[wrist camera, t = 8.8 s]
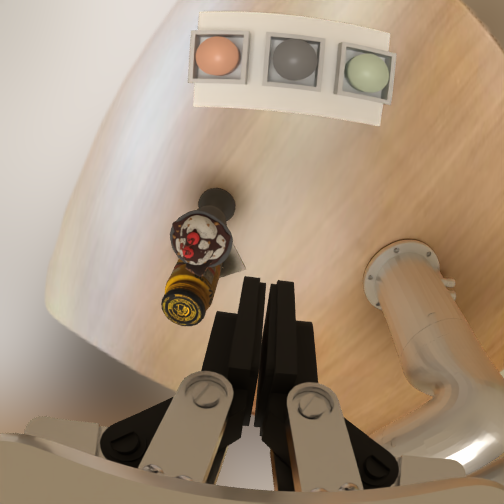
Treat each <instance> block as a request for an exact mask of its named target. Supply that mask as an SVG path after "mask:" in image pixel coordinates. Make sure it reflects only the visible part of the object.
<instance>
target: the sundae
mask: <svg viewBox="0 0 504 504" xmlns="http://www.w3.org/2000/svg"><path fill="white" fill-rule="evenodd" d="M198 206H199V209H198V210H194V211H190V212H188V213H186V214H184V215H182V216H181V217H179V218H178V219H177V221H175V222H173V225H172V228H171V232H170V240H171V244H172V248H173V250H174V252H175V253H176V255H177V256H178V258H179V259H181V260H182V261H183V262H184V263H186V269H187V270H188V271H190V272H192V273H194V274H196V275H198V276H200V277H202V276H203V275H204V273H205V272H206V270H207V269H208V267H214V266H217V265H220V264H221V263H222V262H224V261H225V260H226V259H227V257H228V256H229V254H230V252H231V249H232V244H233V239H232V235H231V232H230V231H229V229H228V228H227V224H226V221H228V220H229V219H230V218H231V217H232V216H233V215H234V212H235V201H234V199H233V197H232V196H231V195H230V194H229V193H228V192H227V191H225V190H223V189H219V188H213V189H209V190H207V191H205V192H204V193H203V194H202V195H201V197H200V199H199V203H198Z"/></svg>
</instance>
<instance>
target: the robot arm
mask: <svg viewBox="0 0 504 504" xmlns="http://www.w3.org/2000/svg"><path fill="white" fill-rule="evenodd" d="M454 286H455V279H453V278H443V276H442V275H441V273H440V265H439V261H438V258H437V256H436V254H435V253H434V251H433V250H432V249H431V248H430V247H429V246H428V245H426V244H425V243H423V242H420V241H417V240H401V241H397V242H394V243H392V244H390V245H388V246H386V247H385V248H383V249H382V250H380V251H379V252H378V253H377V254H376V255H375V256H374V257H373V258H372V260H371V261H370V262H369V264H368V266H367V268H366V270H365V273H364V278H363V288H364V292H365V295H366V297H367V299H368V301H369V302H370V303H371V304H372V305H373V306H374V307H376V308H377V309H380V310H382V311H383V313H384V316H385V319H386V322H387V324H388V327H389V330H390V333H391V336H392V339H393V342H394V344H395V347H396V350H397V353H398V356H399V359H400V362H401V366H402V369H403V372H404V374H405V376H406V378H407V380H408V381H409V383H410V384H411V385H412V386H413V387H415V388H416V389H418V390H419V391H421V392H423V393H425V394H428V395H430V396H433V398H432V399H431V400H429V401H428V402H426V403H425V404H423V405H422V406H421V407H419V408H417V409H416V410H414V411H412V412H410V413H409V414H407V415H405V416H403V417H401V418H399V419H398V420H396V421H394V422H392V423H390V424H388V425H387V426H385V427H383V428H381V429H379V430H377V431H376V432H374V433H372V434H371V435H370V436H367V435H366V434H365V433H363V432H362V431H361V430H360V429H358V428H357V427H356V426H354V425H353V424H352V423H350V422H349V421H348V420H347V419H345V418H344V417H343V414H342V410H341V407H340V404H339V400H338V398H337V396H336V394H335V393H334V392H333V391H332V390H331V389H330V388H328V387H326V386H325V385H322V384H319V383H318V376H317V364H316V353H315V342H314V332H313V324H312V322H305V321H296V316H295V294H294V282H289V281H280V280H278V281H277V284H271V286H270V293H269V299H268V305H267V312H266V318H265V324H264V330H263V336H262V329H263V317H264V304H265V291H266V283H261V282H260V278H255V277H247V276H244V281H243V287H242V292H241V298H240V303H239V309H238V314H235V313H227V312H220V311H217V312H216V316H215V319H214V323H213V327H212V331H211V335H210V339H209V343H208V347H207V351H206V354H205V358H204V362H203V366H202V370H201V371H199V372H195V373H192V374H190V375H189V376H187V377H186V378H184V380H183V381H182V382H181V384H180V386H179V388H178V390H177V392H176V394H175V396H174V397H172V398H170V399H168V400H166V401H164V402H161V403H159V404H157V405H155V406H153V407H151V408H149V409H146V410H144V411H142V412H140V413H138V414H135V415H133V416H131V417H129V418H126V419H124V420H122V421H119V422H117V423H115V424H113V425H111V426H110V427H101V426H100V425H99V424H98V423H89V422H80V421H71V420H64V419H58V418H51V417H46V416H44V417H43V416H42V417H36V418H34V419H32V420H31V421H30V422H29V423H28V424H27V426H26V429H25V431H24V434H19V433H0V504H504V457H501V458H499V459H497V460H495V461H493V460H494V459H496V458H497V457H499V456H500V455H501V454H502V453H503V452H504V378H503V377H502V375H501V374H500V373H499V371H498V370H497V369H496V367H495V366H494V364H493V363H492V362H491V360H490V359H489V357H488V356H487V354H486V353H485V351H484V349H483V347H482V346H481V344H480V343H479V341H478V339H477V338H476V336H475V334H474V332H473V331H472V329H471V327H470V326H469V324H468V322H467V320H466V319H465V317H464V315H463V314H462V312H461V310H460V309H459V307H458V306H457V304H456V302H455V299H456V293H455V291H454V290H447V288H446V287H454ZM261 342H262V343H261ZM258 373H259V376H258ZM257 379H258V388H257V399H256V410H255V422H254V427H260V436H262V441H263V442H264V443H265V444H266V445H267V446H268V447H269V448H270V458H271V466H272V474H273V482H274V491H267V490H255V489H244V488H235V487H227V486H219V485H216V482H217V479H218V476H219V473H220V471H221V468H222V465H223V462H224V459H225V456H226V453H227V450H228V445H230V444H232V443H233V442H235V441H236V440H238V439H239V438H241V433H242V426H249V422H250V417H251V412H252V406H253V401H254V396H255V390H256V385H257ZM491 461H493V462H491ZM490 462H491V463H490ZM488 463H489V464H488ZM485 465H486V466H485ZM483 466H484V467H483ZM481 467H482V468H481Z"/></svg>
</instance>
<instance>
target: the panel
mask: <svg viewBox="0 0 504 504" xmlns="http://www.w3.org/2000/svg"><path fill="white" fill-rule="evenodd" d="M217 36H218V37H224V38H227V39H229V40H230V41H231V42H233V43H234V44H235V45H236V46H237V48H238V49H239V51H240V55H241V59H240V63H239V66H238V67H237V68H236V70H235V71H233V72H232V73H230V74H228V75H225V76H216V75H210V74H207V73H205V72H203V71H202V70H201V69H200V68H199V66H198V65H197V62H196V51H197V49H198V47H199V45H200V44H201V43H202V42H203V41H205V40H206V39H208V38H211V37H217ZM289 39H300V40H303V41H305V42H307V43H308V44H310V45H311V46H312V47H313V48H314V50H315V52H316V54H317V59H318V62H317V67H316V69H315V71H314V72H313V73H312V74H311V75H310V76H308V77H307V78H305V79H301V80H297V81H292V80H287V79H285V78H283V77H281V76H280V75H279V74H278V73H277V72H276V70H275V68H274V65H273V53H274V50H275V48H276V47H277V46H278V45H279V44H280V43H281V42H283V41H285V40H289ZM389 43H390V33H387V32H383V31H379V30H375V29H371V28H367V27H362V26H358V25H353V24H348V23H343V22H337V21H332V20H326V19H319V18H312V17H305V16H297V15H287V14H276V13H262V12H236V11H212V12H199V21H198V30H193V31H191V39H190V54H189V70H188V83H194V101H193V107H222V108H242V109H256V110H268V111H279V112H289V113H298V114H306V115H313V116H321V117H328V118H334V119H341V120H347V121H352V122H358V123H364V124H369V125H374V126H379V127H380V123H381V116H382V108H383V104H387V105H391V100H392V92H393V84H394V75H395V65H396V55H397V54H396V53H392V52H389ZM366 53H367V54H373V55H376V56H378V57H379V58H381V59H382V60H383V61H384V62H385V64H386V65H387V68H388V71H389V80H388V83H387V84H386V86H385V87H384V88H383V89H382V90H380V91H378V92H361V91H358V90H355V89H354V88H352V87H351V86H350V85H349V84H348V83H347V81H346V79H345V76H344V69H345V65H346V63H347V62H348V61H349V60H350V59H351V58H353V57H355V56H358V55H361V54H366Z"/></svg>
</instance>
